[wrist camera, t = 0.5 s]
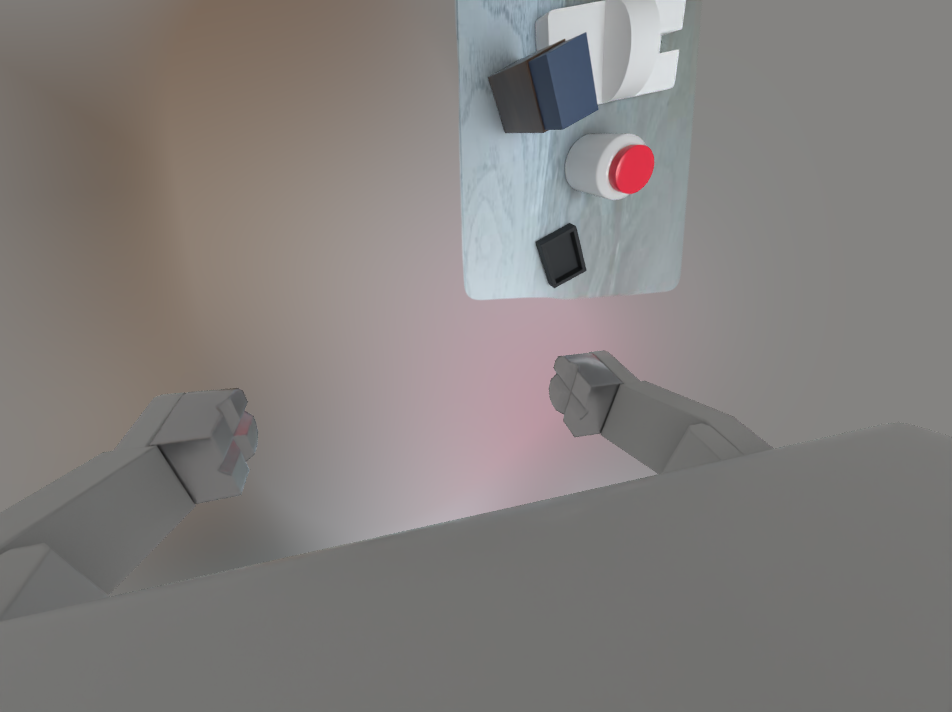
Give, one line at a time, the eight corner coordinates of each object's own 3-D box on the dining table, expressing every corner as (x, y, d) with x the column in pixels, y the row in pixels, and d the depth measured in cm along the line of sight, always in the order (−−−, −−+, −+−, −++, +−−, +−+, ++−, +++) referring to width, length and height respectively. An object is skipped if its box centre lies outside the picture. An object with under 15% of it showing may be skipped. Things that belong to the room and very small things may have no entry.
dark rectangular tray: (535, 241, 56) (540, 245, 54) (569, 223, 56) (576, 225, 54) (548, 284, 61) (554, 288, 59) (580, 266, 61) (586, 270, 59)
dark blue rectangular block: (527, 62, 33) (546, 54, 30) (564, 41, 33) (586, 31, 29) (544, 130, 36) (562, 129, 33) (577, 111, 36) (598, 109, 33)
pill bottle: (567, 134, 48) (613, 135, 40) (614, 131, 50) (669, 131, 41) (562, 194, 53) (603, 206, 44) (605, 189, 54) (653, 200, 45)
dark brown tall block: (487, 77, 42) (525, 60, 33) (518, 59, 42) (565, 38, 33) (505, 133, 46) (543, 133, 36) (533, 117, 46) (579, 112, 36)
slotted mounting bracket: (655, 90, 48) (706, 82, 41) (539, 115, 46) (572, 112, 39) (665, -5, 43) (726, -33, 36) (534, 19, 40) (572, -6, 33)
